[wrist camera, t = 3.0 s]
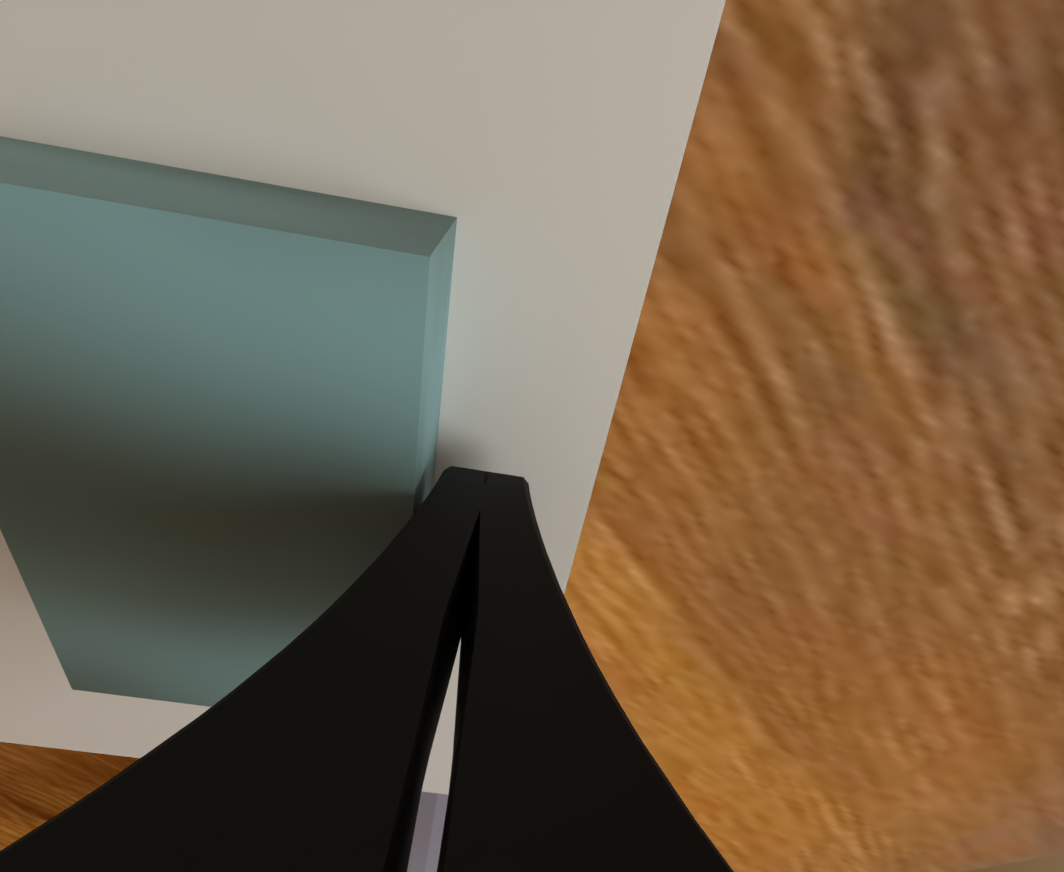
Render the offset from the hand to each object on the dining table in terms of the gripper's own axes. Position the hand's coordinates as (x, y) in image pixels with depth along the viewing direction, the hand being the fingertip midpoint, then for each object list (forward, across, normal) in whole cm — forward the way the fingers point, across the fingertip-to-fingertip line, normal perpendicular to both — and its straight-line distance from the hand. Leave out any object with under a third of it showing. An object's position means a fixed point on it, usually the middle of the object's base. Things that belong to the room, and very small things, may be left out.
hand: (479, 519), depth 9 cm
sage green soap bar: (0, +4, 0) cm, 4 cm away
